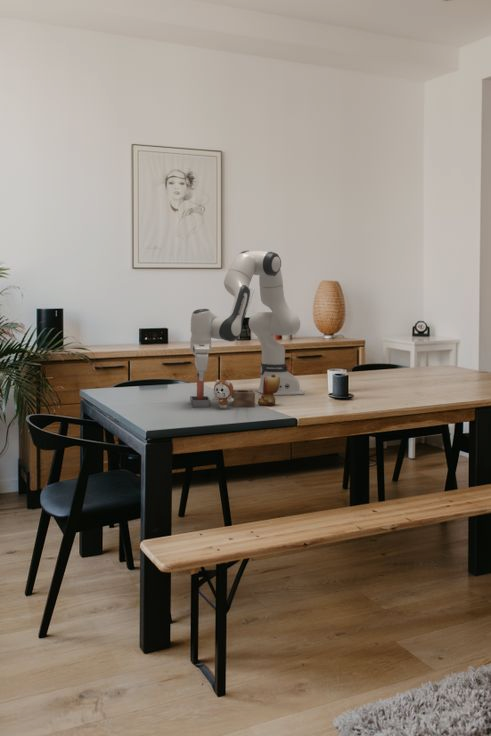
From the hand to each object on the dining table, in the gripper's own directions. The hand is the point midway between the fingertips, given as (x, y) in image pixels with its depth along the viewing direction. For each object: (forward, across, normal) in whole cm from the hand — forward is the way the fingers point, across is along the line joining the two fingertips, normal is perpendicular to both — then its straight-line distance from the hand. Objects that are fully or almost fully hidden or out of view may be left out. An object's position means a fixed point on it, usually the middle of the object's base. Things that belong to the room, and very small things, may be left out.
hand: (200, 379), depth 296 cm
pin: (+10, 0, 0) cm, 10 cm away
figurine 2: (+11, 0, +30) cm, 32 cm away
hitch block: (+11, +1, +18) cm, 22 cm away
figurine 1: (+11, +9, +9) cm, 17 cm away
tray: (+11, 0, 0) cm, 11 cm away
